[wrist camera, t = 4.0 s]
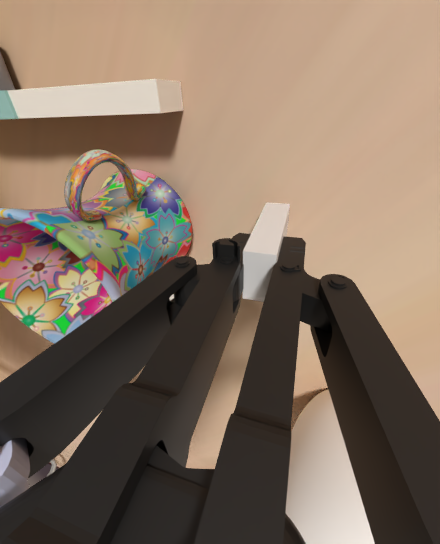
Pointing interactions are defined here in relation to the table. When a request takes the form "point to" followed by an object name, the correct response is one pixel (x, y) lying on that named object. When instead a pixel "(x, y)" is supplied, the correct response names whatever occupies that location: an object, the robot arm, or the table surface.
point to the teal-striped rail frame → (89, 99)
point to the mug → (88, 246)
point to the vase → (324, 480)
